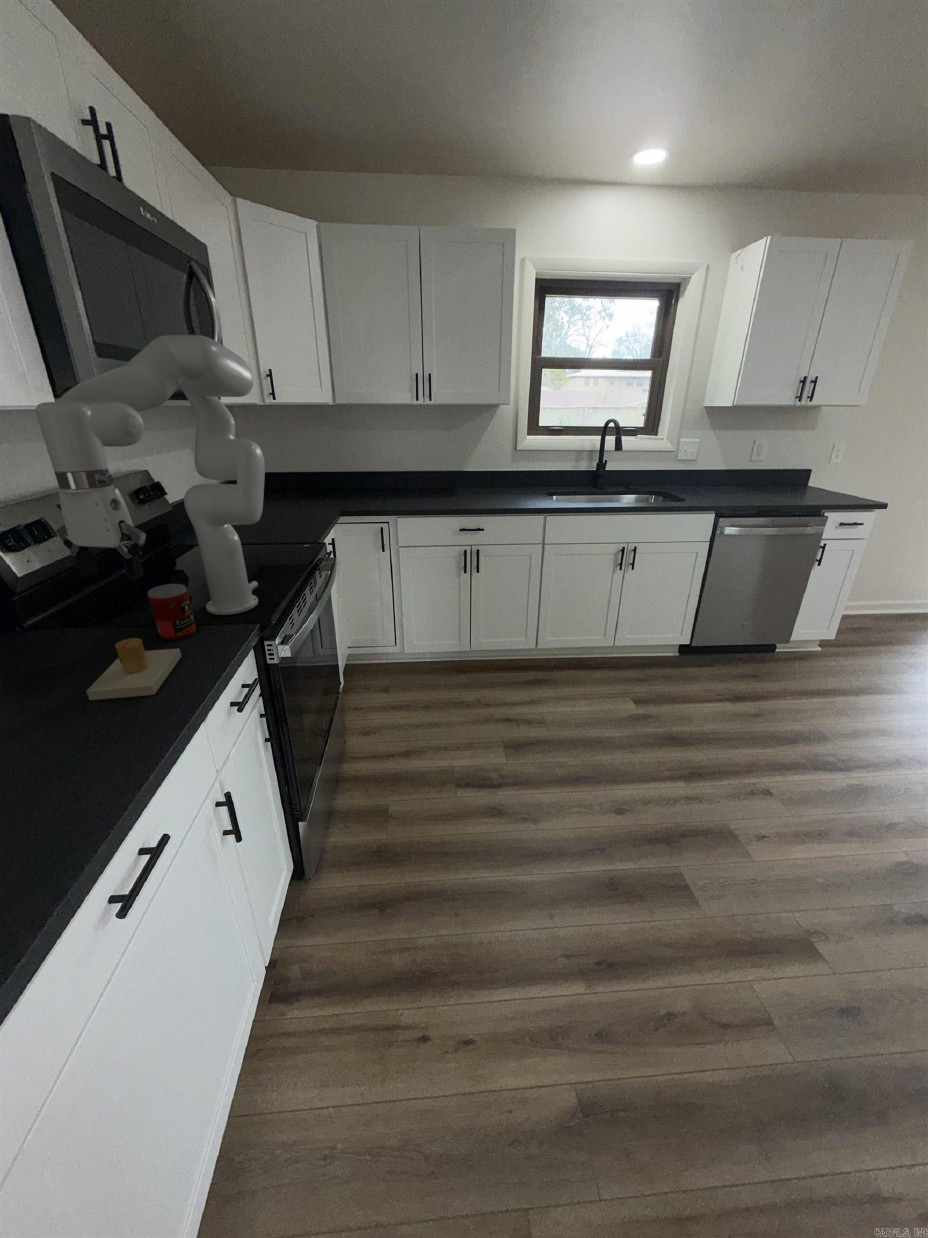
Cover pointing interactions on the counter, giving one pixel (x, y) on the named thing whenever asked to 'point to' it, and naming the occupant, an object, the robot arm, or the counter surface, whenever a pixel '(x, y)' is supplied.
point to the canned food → (172, 611)
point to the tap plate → (135, 677)
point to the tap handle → (132, 655)
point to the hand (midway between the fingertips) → (113, 576)
